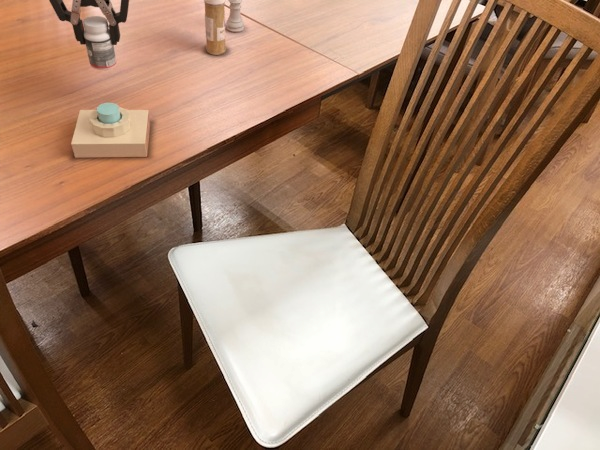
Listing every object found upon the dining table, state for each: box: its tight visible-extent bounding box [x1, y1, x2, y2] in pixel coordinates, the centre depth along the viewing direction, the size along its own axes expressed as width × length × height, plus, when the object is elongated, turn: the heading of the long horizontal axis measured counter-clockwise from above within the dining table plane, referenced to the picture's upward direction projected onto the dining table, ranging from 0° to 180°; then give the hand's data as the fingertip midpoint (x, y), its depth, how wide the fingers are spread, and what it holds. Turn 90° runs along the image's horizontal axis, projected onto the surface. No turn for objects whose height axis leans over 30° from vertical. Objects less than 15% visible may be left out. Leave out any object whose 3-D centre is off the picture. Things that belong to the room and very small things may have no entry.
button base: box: [70, 106, 151, 159], centre depth 89 cm, size 12×10×5 cm
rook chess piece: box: [225, 0, 245, 33], centre depth 122 cm, size 4×4×8 cm
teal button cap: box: [96, 102, 121, 124], centre depth 87 cm, size 4×4×2 cm
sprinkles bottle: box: [203, 0, 227, 56], centre depth 112 cm, size 5×5×13 cm
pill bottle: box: [82, 15, 117, 71], centre depth 91 cm, size 5×5×8 cm
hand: (99, 42), depth 91 cm, fingers closed on pill bottle, 4 cm apart
